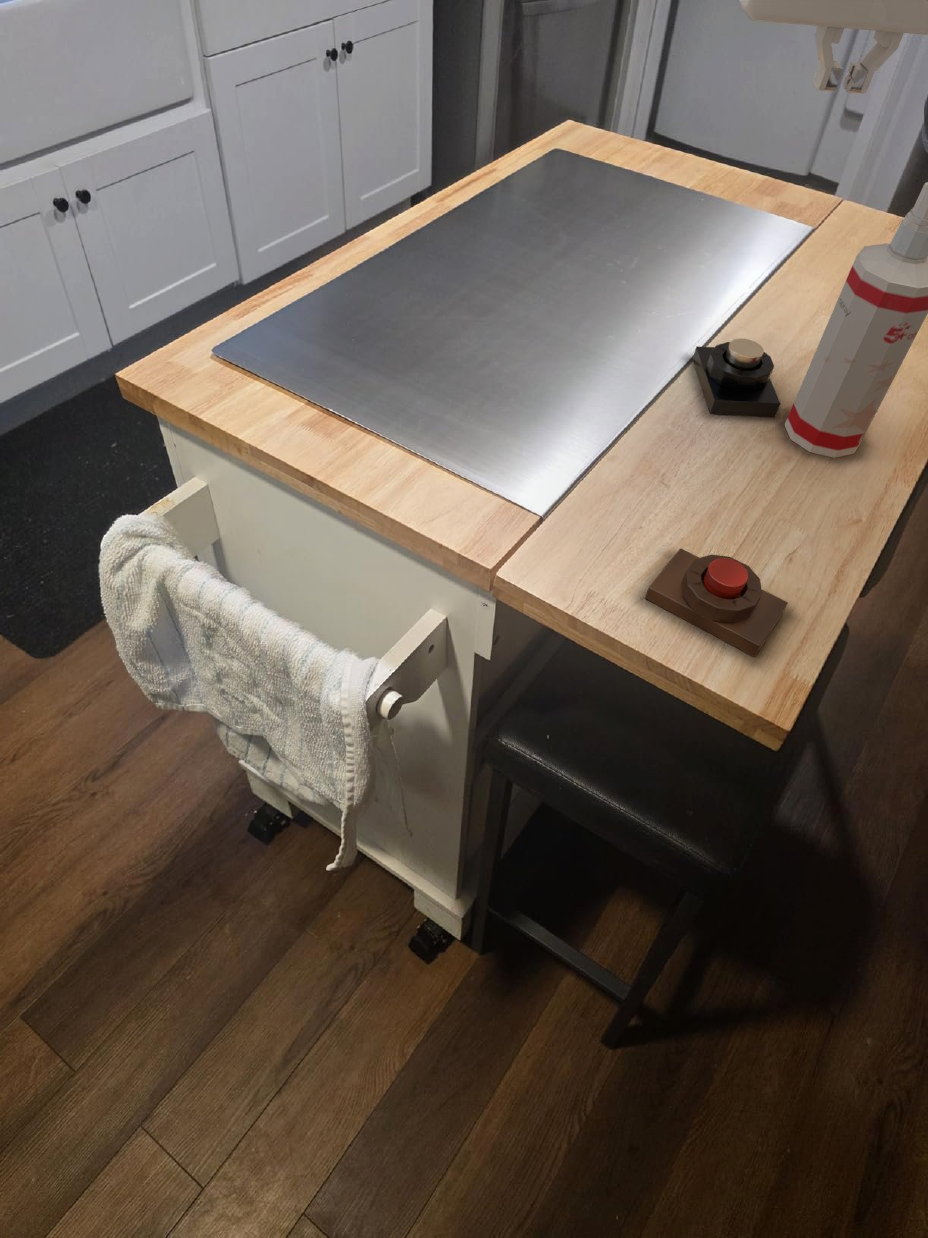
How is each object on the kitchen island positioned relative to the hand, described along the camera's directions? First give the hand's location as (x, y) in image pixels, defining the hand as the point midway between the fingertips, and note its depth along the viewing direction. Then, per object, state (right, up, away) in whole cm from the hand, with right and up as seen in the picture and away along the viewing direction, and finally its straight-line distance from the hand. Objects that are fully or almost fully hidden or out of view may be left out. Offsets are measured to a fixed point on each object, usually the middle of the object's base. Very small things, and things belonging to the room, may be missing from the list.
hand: (838, 89), depth 72 cm
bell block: (-10, -43, +1) cm, 44 cm away
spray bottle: (+6, -25, +18) cm, 31 cm away
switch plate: (-2, -19, +22) cm, 29 cm away
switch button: (-2, -17, +20) cm, 26 cm away
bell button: (-10, -41, -1) cm, 42 cm away
